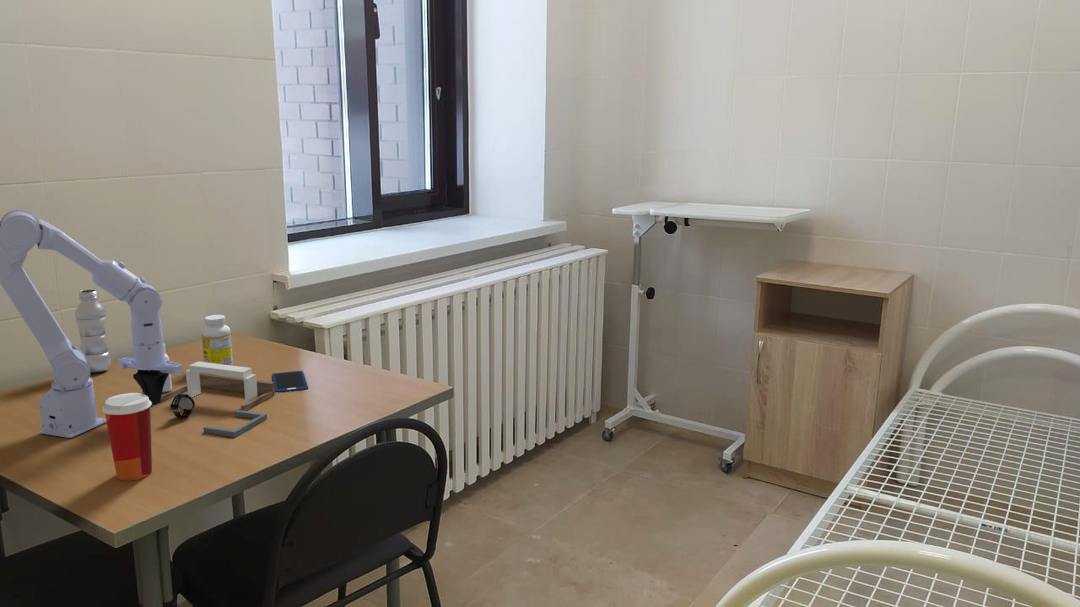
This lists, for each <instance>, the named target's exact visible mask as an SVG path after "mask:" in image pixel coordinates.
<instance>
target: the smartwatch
mask: <svg viewBox="0 0 1080 607" xmlns="http://www.w3.org/2000/svg"><path fill="white" fill-rule="evenodd" d="M195 406H196V402H195V400H194V399H193V398H191V397H190V396H189V395H188V393H187V394H185V393H181V394H178V395H177V396H174V397H173V399H172V402H171V403H170V405H169V407H170V411H171V412H173V415H174V416H175V417H176V418H179V419H187V418H188V417H189V416H190V415H191V413H192V412H193V409H194V408H195ZM179 407H180V408H181V409H182V410H183V411H182V413H181V410H180V408H179Z"/></svg>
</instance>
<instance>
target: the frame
mask: <svg viewBox="0 0 1080 607" xmlns="http://www.w3.org/2000/svg"><path fill="white" fill-rule="evenodd" d="M233 415H234V416H235V417H239V418H241V417H242V418H248V419H251V420H250V421H247V423H245V424H243V425H241V426H239V427H238V428H236V429H228V428H227V429H226V428H222V427H214V426H207V425H206V426H204V427H203V428H202V429H203V433H206V434H213V435H217V436H218V435H219V436H226V437H232V438H236V437H238V436H240V435H242V434H244V433H245V432H246V431H248V430H251V429H252V428H254V427H255V426H257V425H259V424H260V423H262V422H264V421H266V420H267V419H268V414H267V413H260V412H254V411H248V410H246V411H242V410H241V409H240V410H239V409H238V410H237V409H236V410H234V412H233Z"/></svg>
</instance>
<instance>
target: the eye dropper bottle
mask: <svg viewBox="0 0 1080 607" xmlns="http://www.w3.org/2000/svg"><path fill="white" fill-rule="evenodd" d="M164 353H165V357H167V360H169V361H170V357H169V354H167V352H166V344H165V343H164ZM172 389H173V387H172V374H169V375H168V377H167V379H166V381H165V384H164V387H163V390H162V393H166V392H167V393H169V392H171V391H173V390H172Z"/></svg>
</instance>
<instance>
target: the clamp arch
mask: <svg viewBox="0 0 1080 607" xmlns="http://www.w3.org/2000/svg"><path fill="white" fill-rule="evenodd" d="M199 373H204V374H212V375H220V376H227V377H235V378H243V379H244V391H245V393H244V401H245V402H244V403H245V404H246V403H248V402H250V401H252V400H254V399H256V398H257V397H259V395H257V381H256V380H257V374H254V373H253V368H252V367H247V366H238V365H232V366H231V365H223V364H215V363H207V362H204V361H196V362H194V363H192V364H189V365H188V369H187V370H185V376H186V377H185V378H186V385H187V390H188V391H187V395H189V396H190V397H191V398H192V397H193V398H195V397H197V396H199V395H201V394H202V389H201V388H202V387H200V376H199ZM200 393H201V394H200ZM198 394H199V395H198ZM196 395H197V396H196ZM194 396H195V397H194ZM193 398H192V399H193Z"/></svg>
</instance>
